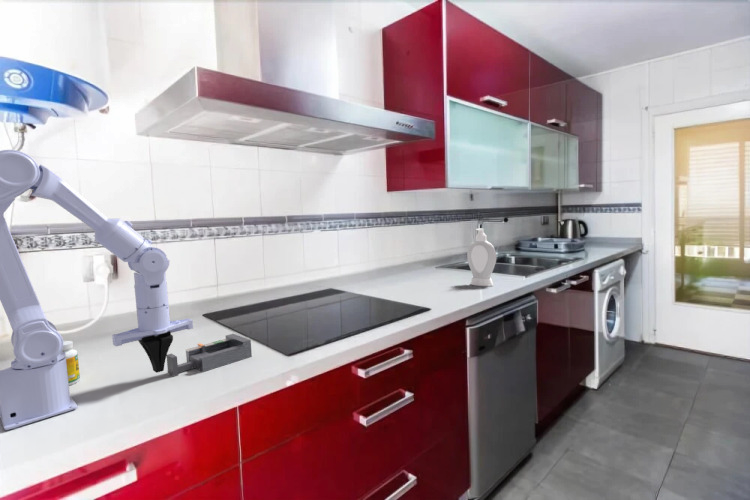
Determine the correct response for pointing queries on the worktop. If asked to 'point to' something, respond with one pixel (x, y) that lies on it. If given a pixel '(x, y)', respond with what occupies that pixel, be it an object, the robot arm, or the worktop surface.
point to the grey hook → (194, 363)
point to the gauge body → (222, 352)
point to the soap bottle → (481, 260)
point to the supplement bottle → (71, 362)
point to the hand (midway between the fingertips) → (158, 370)
